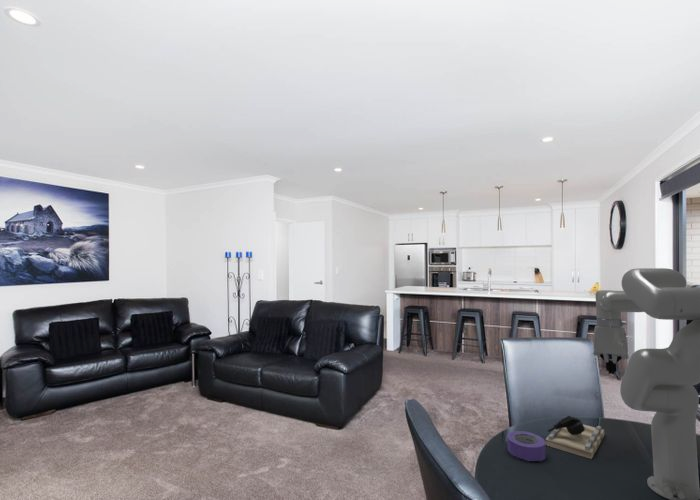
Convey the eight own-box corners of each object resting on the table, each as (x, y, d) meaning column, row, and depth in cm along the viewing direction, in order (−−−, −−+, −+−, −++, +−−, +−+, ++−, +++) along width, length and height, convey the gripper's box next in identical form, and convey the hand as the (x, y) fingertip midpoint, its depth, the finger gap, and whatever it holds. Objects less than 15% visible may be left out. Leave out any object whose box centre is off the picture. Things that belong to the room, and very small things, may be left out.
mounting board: (591, 459, 119) (591, 449, 119) (545, 445, 129) (545, 436, 129) (604, 435, 136) (604, 426, 137) (562, 424, 146) (562, 416, 146)
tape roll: (536, 466, 115) (535, 450, 116) (501, 452, 124) (500, 437, 125) (551, 454, 123) (551, 439, 123) (517, 442, 132) (517, 428, 132)
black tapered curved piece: (543, 425, 134) (572, 411, 134) (553, 444, 134) (582, 429, 133) (551, 432, 129) (581, 417, 128) (561, 452, 128) (591, 436, 128)
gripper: (634, 324, 133) (637, 374, 132) (586, 320, 143) (589, 367, 141) (633, 326, 127) (636, 379, 126) (583, 322, 137) (586, 371, 136)
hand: (611, 373), depth 134 cm, fingers closed
